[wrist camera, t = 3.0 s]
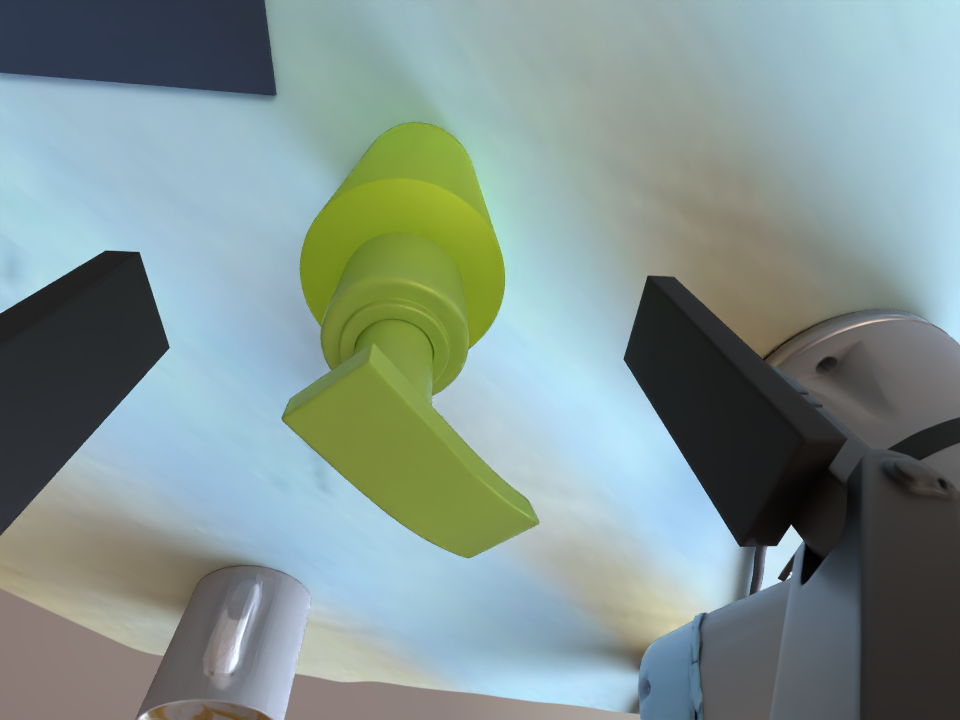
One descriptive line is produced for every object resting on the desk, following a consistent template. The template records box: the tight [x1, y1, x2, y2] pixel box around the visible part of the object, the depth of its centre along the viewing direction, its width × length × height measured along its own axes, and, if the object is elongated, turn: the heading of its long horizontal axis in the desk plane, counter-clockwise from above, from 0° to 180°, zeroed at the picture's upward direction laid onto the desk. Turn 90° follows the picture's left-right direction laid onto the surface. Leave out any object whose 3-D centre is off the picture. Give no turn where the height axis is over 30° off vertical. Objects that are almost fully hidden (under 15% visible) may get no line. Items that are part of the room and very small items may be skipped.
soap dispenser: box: [282, 122, 539, 558], centre depth 17 cm, size 6×7×20 cm
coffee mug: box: [135, 566, 311, 720], centre depth 38 cm, size 13×10×10 cm
